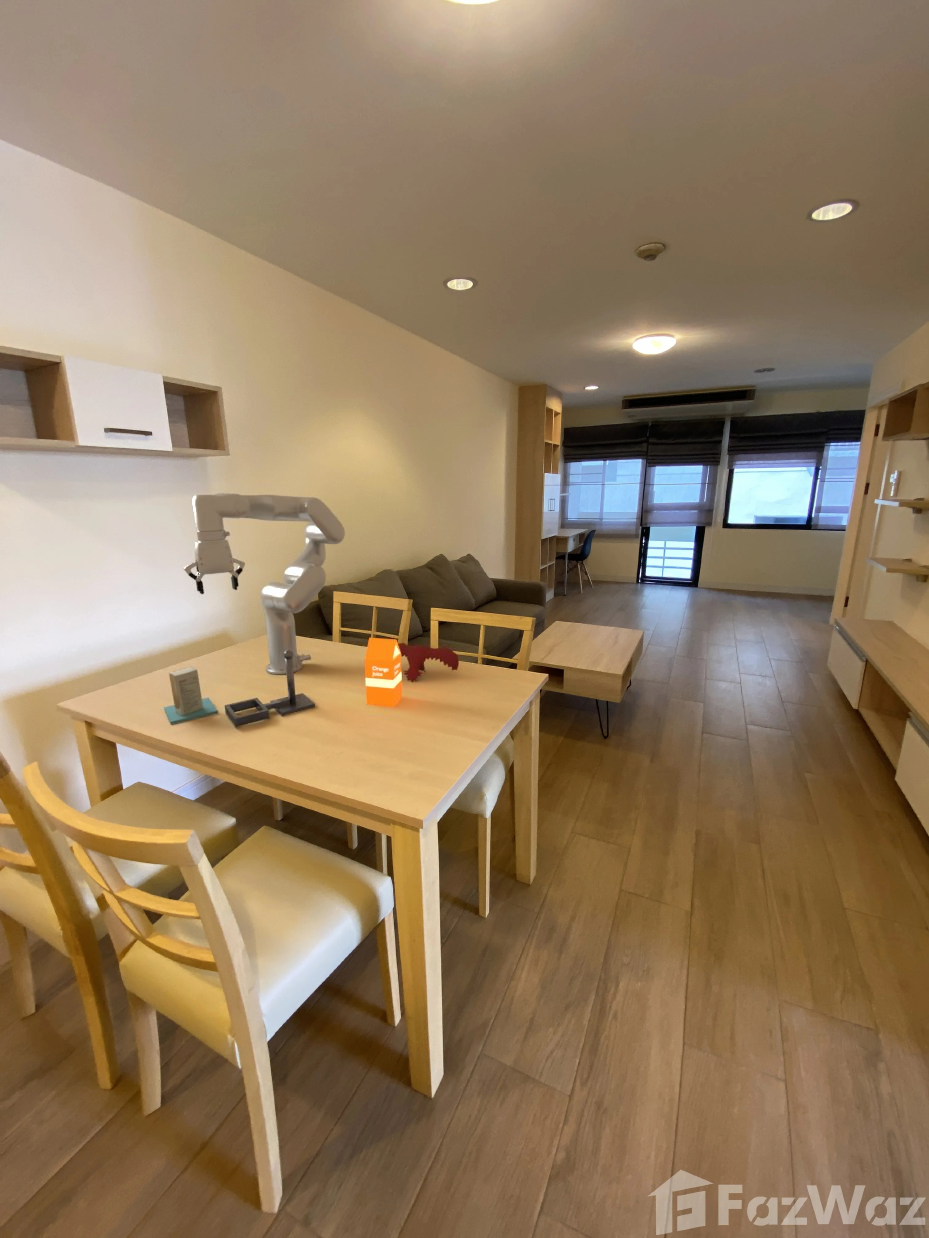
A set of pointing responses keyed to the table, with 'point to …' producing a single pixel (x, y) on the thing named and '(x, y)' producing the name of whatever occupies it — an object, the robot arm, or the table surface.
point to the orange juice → (383, 672)
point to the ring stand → (280, 705)
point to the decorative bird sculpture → (421, 653)
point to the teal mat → (205, 711)
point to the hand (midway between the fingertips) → (218, 591)
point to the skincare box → (186, 690)
